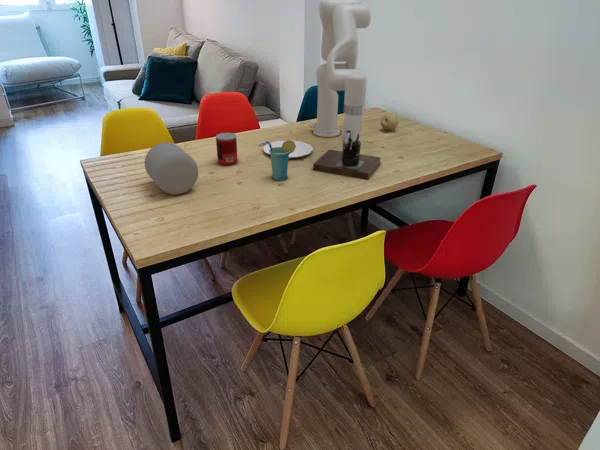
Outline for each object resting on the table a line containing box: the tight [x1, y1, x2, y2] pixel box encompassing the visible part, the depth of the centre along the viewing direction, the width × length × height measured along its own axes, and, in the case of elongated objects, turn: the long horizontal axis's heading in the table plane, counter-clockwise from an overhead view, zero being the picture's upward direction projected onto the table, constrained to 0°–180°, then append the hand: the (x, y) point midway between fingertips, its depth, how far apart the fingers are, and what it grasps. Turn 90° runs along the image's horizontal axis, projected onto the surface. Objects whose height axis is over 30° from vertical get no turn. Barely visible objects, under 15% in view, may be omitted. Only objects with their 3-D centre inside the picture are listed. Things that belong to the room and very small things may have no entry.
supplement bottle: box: [341, 134, 362, 166], centre depth 170 cm, size 7×7×12 cm
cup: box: [259, 139, 296, 181], centre depth 163 cm, size 14×8×15 cm, turn 122°
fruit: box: [380, 113, 399, 132], centre depth 217 cm, size 8×8×8 cm
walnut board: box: [312, 149, 381, 180], centre depth 177 cm, size 22×18×3 cm
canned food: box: [215, 132, 238, 167], centre depth 177 cm, size 8×8×11 cm
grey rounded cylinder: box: [144, 142, 199, 196], centre depth 157 cm, size 19×15×25 cm
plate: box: [262, 139, 314, 159], centre depth 191 cm, size 21×21×2 cm
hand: (350, 155), depth 172 cm, fingers closed on supplement bottle, 6 cm apart
